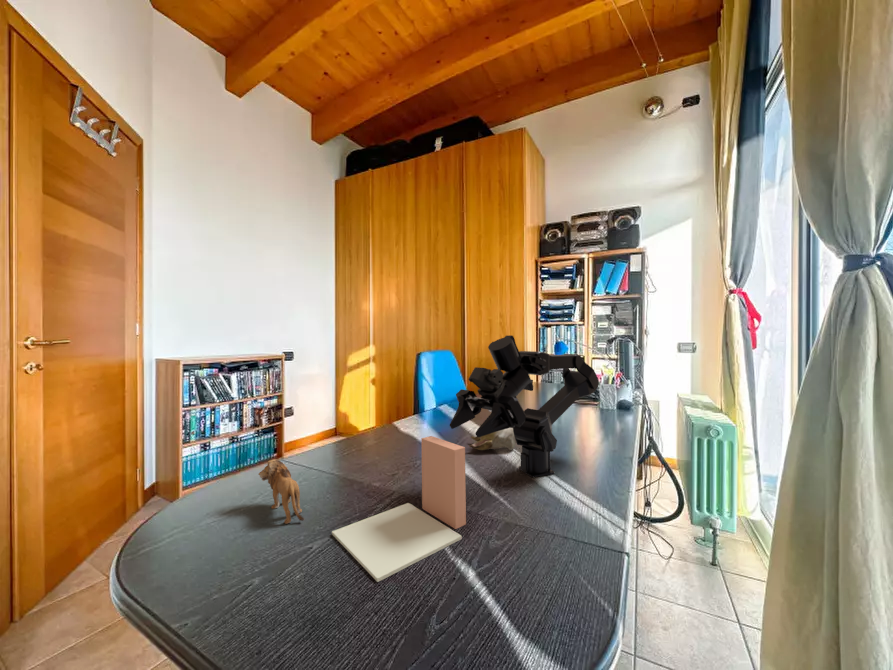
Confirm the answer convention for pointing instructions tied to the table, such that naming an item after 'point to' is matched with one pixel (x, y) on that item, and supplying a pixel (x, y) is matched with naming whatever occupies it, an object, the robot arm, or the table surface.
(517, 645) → the table surface
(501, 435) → the ceramic sculpture
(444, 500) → the terracotta board
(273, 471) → the lion figurine
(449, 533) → the rubber mat
